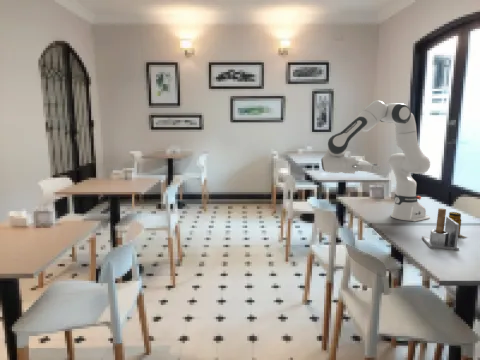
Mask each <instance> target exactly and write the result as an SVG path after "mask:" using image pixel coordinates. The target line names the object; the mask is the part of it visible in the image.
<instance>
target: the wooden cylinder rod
mask: <svg viewBox="0 0 480 360" xmlns="http://www.w3.org/2000/svg"><path fill="white" fill-rule="evenodd" d="M446 214H447V209H445V208H443V207H442V208H440V207H439V208H438V211H437V218H436V225H435V226H436V227H435V229H436V232H437V233H444V231H445V225H446Z"/></svg>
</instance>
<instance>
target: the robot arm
mask: <svg viewBox="0 0 480 360" xmlns="http://www.w3.org/2000/svg"><path fill="white" fill-rule="evenodd" d="M379 122H381V123H387V124H394V125H395V139H396V140H395V141H396V146H397V147H398V148H399V149H400V150H401V151H402V152H397V153H392V154H391V155H390V156H389V157H388V161H387V164H388V167H389V168H390V169H391V170H392V172H393V174H394V178H395V182H396V183H395V194H394V202H393V203H394V204H393V208H392V212H391V215H390V217H392V218H393V219H397V220H400V221H401V220H402V221H409V222H419V221H424V220H429V219H431V217H430V216H429V215H428V214H427V213H426V212H427V210H426V208H425V207H424V206H423V205H422V204H421V203H420V202H419V201H420V200H421V199H422V196H420V195H417V184H418V183H417V181H416V180H415V179H414V178H413V176H412V174H418V175H419V174H425V173H427V172H428V171H429V169H430V168H431V167H430V166H431V161H430V159H429V158H428V157H427V156H426V155H425V154H424V153H423V152H422V150H421V147H420V145H419V142H418V133H417V123H416V118H415V115H414V114H413V113H412V111H411V109H410V106H408V105H407V104H405V103H398V102H391V103H385V102H383V101H382V100H378V99H377V100H374V101H372V102H371V103H370V104H368V105H367V106H366V107H364V108H363V109H362V110H361V111H359V114H357V116H356V117H355V118H354V120H353V121H352V122H350V124H348V125H347V126H346V127H345V128H344V129H343V130H342V131H340V132H337V133H336V134H334V135H332V136H331V137H330V138H329V139H328V140H327V149H326V152H325V154H324V155H323V156H322V157H321V159H320V162H321V163H320V164H321V169H322V170H323V171H324V172H326V173H330V174H331V173H333V174H339V173H342V174H343V173H344V174H354V175H355V173H356V172H367V173H371V172H372V171H373V170H380V169H381V165H378V163H374V162H369V161H367V160H365V159H364V160H363V159H356V157H354V156H353V157H350V156H349V157H347V156H345V154H346V151H347V148H348V146H349V142H350V141H351V140H352V139H353V138H354V137H355V136H356V135H358V134H359V133H360V132H363V133H367V132H369V131H370V130H372V129H374V128H375V127H376V126H377V124H379Z"/></svg>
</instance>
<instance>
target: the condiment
mask: <svg viewBox="0 0 480 360" xmlns="http://www.w3.org/2000/svg"><path fill="white" fill-rule="evenodd" d="M448 217H449V218H451V219H452V220H454V221H455V222H456V223H458V224H459V233H458V239H459V238H461V239H463V238H466V236H464V235H463V234H461V227H462V214H461V213H460V212H457V211H456V212H455V211H451V212H449V213H448Z"/></svg>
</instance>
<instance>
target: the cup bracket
mask: <svg viewBox="0 0 480 360" xmlns="http://www.w3.org/2000/svg"><path fill="white" fill-rule="evenodd" d="M458 233H459V224H458V223H456V222H455V221H454V220H452V219H451V218H449V216H445V224H444V233H437V232H436V228H435V229H431V230H430V235H429V236H425V235H424V236H423V235H422V236H421V239H422V240H423V241H424V242H426V243H425V244H426V245H427V246H428V247H429V248H430V249H436V250H437V249H439V250H449V251H450V250H451V251H460V247H459V246H458V241H459V238H458Z"/></svg>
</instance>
